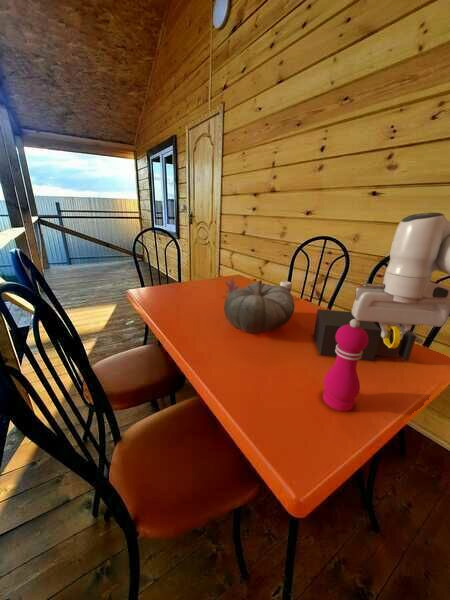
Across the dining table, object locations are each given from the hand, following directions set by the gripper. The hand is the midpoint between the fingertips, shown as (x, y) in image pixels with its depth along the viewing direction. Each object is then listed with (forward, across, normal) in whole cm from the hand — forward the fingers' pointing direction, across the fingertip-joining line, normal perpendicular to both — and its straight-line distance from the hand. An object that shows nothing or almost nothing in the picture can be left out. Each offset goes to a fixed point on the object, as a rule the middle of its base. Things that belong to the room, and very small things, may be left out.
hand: (391, 338), depth 64 cm
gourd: (+10, -35, +21) cm, 42 cm away
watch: (+2, 0, 0) cm, 2 cm away
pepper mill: (+10, -15, -14) cm, 23 cm away
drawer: (+10, +4, +12) cm, 16 cm away
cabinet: (+10, -8, +12) cm, 17 cm away
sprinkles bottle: (+10, -25, +36) cm, 45 cm away
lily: (+10, -48, +49) cm, 69 cm away
